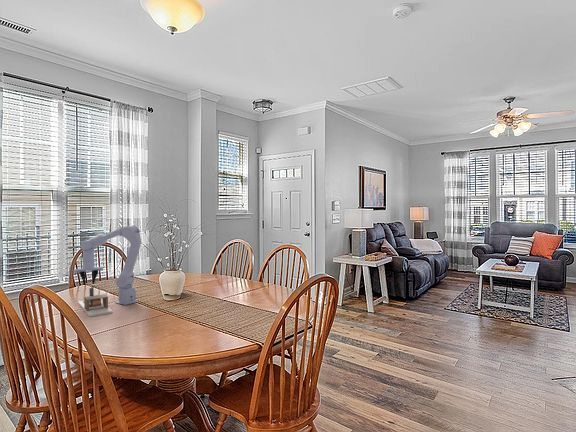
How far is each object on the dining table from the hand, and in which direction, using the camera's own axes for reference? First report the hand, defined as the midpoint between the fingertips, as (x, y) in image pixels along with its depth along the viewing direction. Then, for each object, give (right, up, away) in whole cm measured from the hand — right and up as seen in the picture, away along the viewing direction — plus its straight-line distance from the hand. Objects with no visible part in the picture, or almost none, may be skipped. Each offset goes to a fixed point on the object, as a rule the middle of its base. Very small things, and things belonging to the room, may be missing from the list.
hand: (89, 284), depth 207 cm
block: (+12, -9, -15) cm, 21 cm away
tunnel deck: (+9, -11, -11) cm, 17 cm away
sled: (+9, -9, -10) cm, 17 cm away
